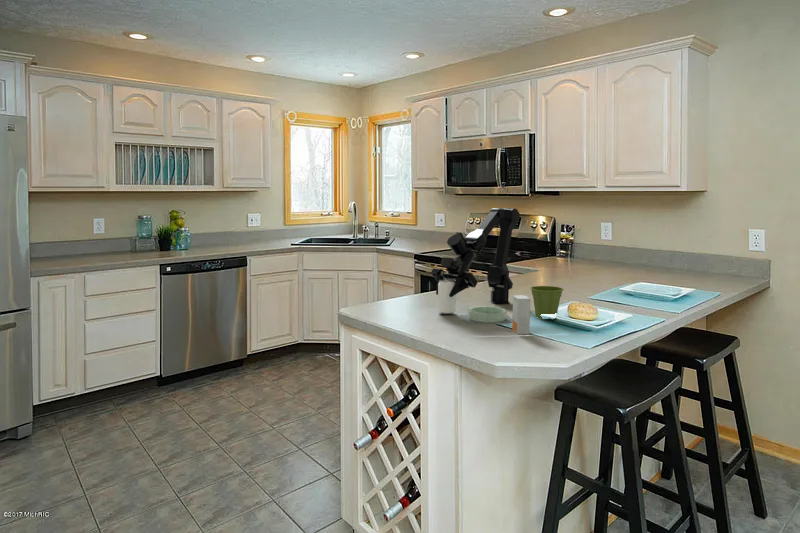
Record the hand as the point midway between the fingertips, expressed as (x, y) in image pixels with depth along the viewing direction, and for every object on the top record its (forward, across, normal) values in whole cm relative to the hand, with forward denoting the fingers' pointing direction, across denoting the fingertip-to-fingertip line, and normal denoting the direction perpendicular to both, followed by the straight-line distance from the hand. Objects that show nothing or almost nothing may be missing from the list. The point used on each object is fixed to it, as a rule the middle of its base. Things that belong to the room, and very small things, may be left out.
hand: (443, 295), depth 204 cm
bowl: (+1, +15, +10) cm, 18 cm away
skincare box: (+6, +34, +5) cm, 35 cm away
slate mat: (+1, +15, +10) cm, 18 cm away
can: (+3, 0, +6) cm, 7 cm away
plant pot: (-11, +29, +23) cm, 38 cm away
